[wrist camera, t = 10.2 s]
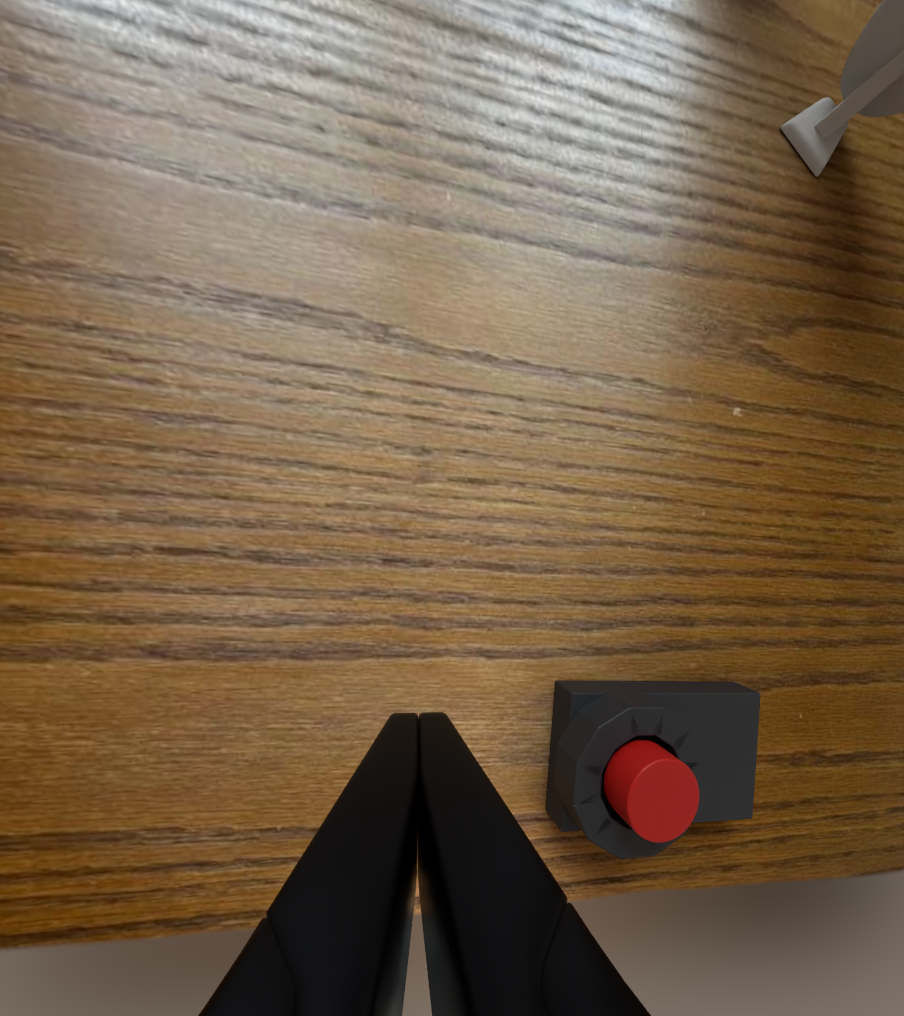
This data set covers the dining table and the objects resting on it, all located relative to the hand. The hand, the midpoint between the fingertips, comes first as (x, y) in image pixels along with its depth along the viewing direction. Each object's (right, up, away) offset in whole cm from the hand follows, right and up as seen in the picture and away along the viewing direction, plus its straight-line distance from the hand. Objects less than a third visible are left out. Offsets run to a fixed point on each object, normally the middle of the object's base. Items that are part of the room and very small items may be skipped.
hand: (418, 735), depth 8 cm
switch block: (+10, -8, +17) cm, 21 cm away
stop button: (+8, -8, +13) cm, 17 cm away
